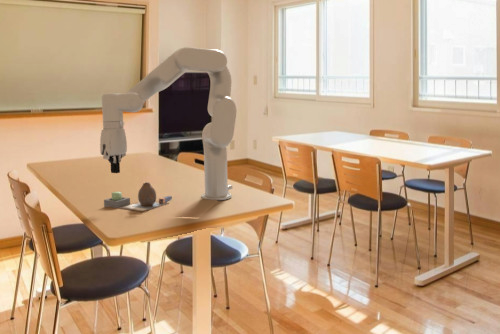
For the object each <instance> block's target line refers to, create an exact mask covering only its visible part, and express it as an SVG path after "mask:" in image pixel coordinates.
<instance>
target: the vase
mask: <svg viewBox="0 0 500 334" xmlns="http://www.w3.org/2000/svg"><path fill="white" fill-rule="evenodd" d="M137 193H138V195H137V199H138V202H140V204H141V205H142V206H152V205H153V204H154V203H155V201H157V192H156V190H155V188H154V187H153V186H152V185H151V183H150V182H143V184H142V186H141V187H140V188H139V191H138V192H137Z"/></svg>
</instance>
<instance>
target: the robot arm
mask: <svg viewBox="0 0 500 334" xmlns="http://www.w3.org/2000/svg"><path fill="white" fill-rule="evenodd" d="M227 65H228V59H227V55H226V54H225V53H224V52H223V51H221V50H219V49H213V48H212V49H211V48H210V49H209V48H199V47H191V46H190V47H188V46H187V47H181V48H179V49H177V50H175V51H174V52H173V53H172V54H170V56H168V57H167V58H165V60H163V61H162V62H161V63H160V64H158V65H157V66H156V67H155V68H153V69H152V71H150V72H149V73H148V74H147V75H145V76H144V78H142V79H141V80H140V81H139V82H137V83H136V84H135V85H133V87H131V88H130V89H129V90H127V91H126V92H125V93H119V92H118V93H117V92H106V93H105V92H104V93H103V94H102V96H101V107H102V109H101V110H102V128H103V129H101V132H100V140H99V142H100V144H99V149H100V150H99V151H100V155H101V156H102V159H103V160H108V162H109V163H110V172H111V174H119V173H121V168H120V163H121V161H122V158H124V157H126V156H127V154H126V153H127V150H128V143H127V142H128V141H127V136H126V130H125V128H124V125H125V122H124V113H123V112H125V113H127V112H128V113H137V112H140V111H141V110H142V109H143V107H144V104H145V103H146V101H148V100H149V99H150V98H151V97H153V96H154V95H156V94H158V93H159V92H161V91H164V90H165V89H168V87H170V86H171V85H172V84H173V83H175V81H177V80H178V79H179V78H180V77H181V76H183V75H184V74H185V73H186V72H187V71H197V72H206V73H207V74H208V76H209V80H210V85H209V86H210V87H209V95H208V103H207V112H208V115H209V116H211V122H209V123H207V124H206V125H204V127H203V129H202V131H201V132H202V133H201V135H202V140H201V141H202V145H203V146H202V148H203V163H204V164H203V165H204V167H203V169H204V173H203V174H204V192H203V193H202V194H201V196H200V197H201V198H202V199H203V200H211V201H225V200H229V199H230V198H232V193H230V192H229V191H230V190H232V189H233V187H234V186H233V185H232V184H229V185H228V151H227V147H228V146H229V145H230V144H231V143H232V141H233V138H234V133H235V126H236V118H237V106H236V103H235V101H234V100H233V99H232V98H231V91H232V75H231V71H230V70H229V68H228V66H227Z"/></svg>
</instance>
